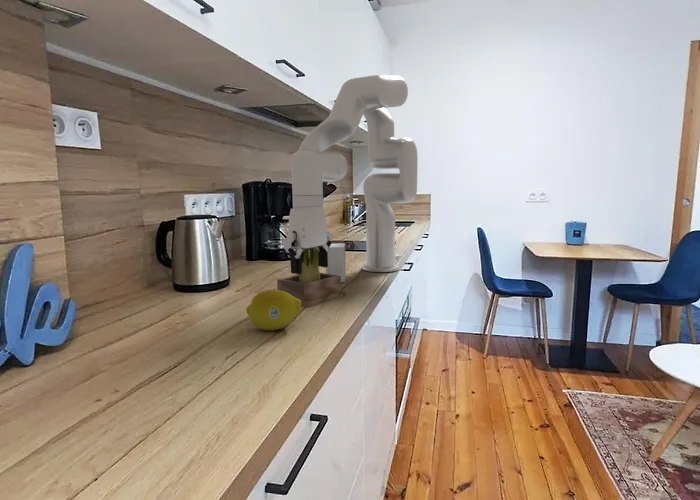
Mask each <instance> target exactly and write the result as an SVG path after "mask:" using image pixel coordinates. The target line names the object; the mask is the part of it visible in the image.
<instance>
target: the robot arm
mask: <svg viewBox="0 0 700 500" xmlns="http://www.w3.org/2000/svg"><path fill="white" fill-rule="evenodd" d="M408 94H409V88H408V85H407V81H406V80H405V79H404V78H403V77H401V76H400V75H385V74H376V75H375V74H374V75H368V76H360V77H353V78H350V79H347V80H346V81H345V82H344V83H343V84H342V85H341V88H340V90H339V92H338V94H337V97H336V99H335V101H334V104H333V105H332V108H331V111H330V112H329V115H328V117H327V118H326V119H324V120H323V121H321V123H319V124H318V125H317V126H316V127H315V128H314V129H312V130H311V131H310V132H309V133H308V134H307V135H306V136H305V137H304V139H303V140H302V142H301V144H300V145H299V148H298V151H295V152H294V153H292V154H291V158H290V160H291V161H290V162H291V163H290V164H291V165H290V166H291V189H292V208H290V211H289V216H288V217H289V218H288V229H287V231H288V232H287V237H286V238H284V240H282V242H281V244H282V246H283V248H284V252H285V254H286V255H287V257H288V258H289V259H290V273H291V274H293V275H297V274H301V273H302V260H301V258H299V257H300V255H301V253H302V251H303V249H309V250H310V248H318V249H319V250H318V267H321V268H326V267H328V252H329V247H330V245H331V244H332V241H333V237H334V233H332V232H331V231H329V230H328V226H327V225H328V224H327V216H326V215H327V214H326V210H325V207H324V201H325V199H324V184H323V183H324V182H337V181H340V180H342V179H343V178H344V177H345V176H346V174H347V172H348V162H347V159H346V157H345V156H344V155H343V154H342V153H339V152H337V151H326V150H327V149H329V148H330V147H333V146H334V145H336V144H339V143H341V142H343V141H345V140H348V139H349V138H351V137H353V136H354V135H355V134H356V133H357V130H358V127H359V125H360V122H361V121H362V118H363V117H364V119H365V122H366V126H367V159H368V164H369V165H370V167H371V168H373V169H376V170H399V172H397V173H396V172H395V173H394V172H393V173H390V172H386V173H385V172H383V173H382V172H381V173H380V172H379V173H373V174H369V175H368V176H367V177H366V178H365V179H364V181H363V186H362V187H363V196H364V201H365V213H366V214H365V215H366V216H365V217H366V222H365V223H366V227H365V228H366V230H365V231H366V236H365V237H366V242H365V243H366V245H365V247H366V249H365V250H366V253H365V255H366V259H365V260H366V262H365V263H363V264H361V269H362V271H365V272H371V273H390V272H391V273H392V272H396V271H398V270H400V265H399V264H398V263H396V261H399V260H401V255H400V254H395V253H396V248H395V247H396V215H395V212H394V210H393V208H392V206H391V204H410V203H412V202H413V201H414V200H415V199H416V197H417V192H418V161H419V160H418V159H419V158H418V148H417V146H416V145H417V144H416V143H415V141H414V140H413V139H411V138H409V137H395V121H394V119H393V117H392V116H391V114H390V113H389V111H388V110H387V108H398V107H402V106H403V105H404V104H405V103H406V101H407V98H408Z"/></svg>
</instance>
